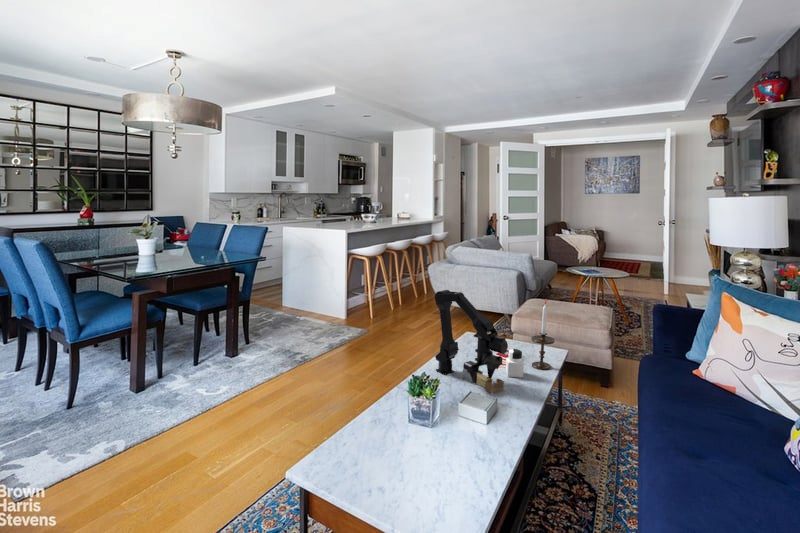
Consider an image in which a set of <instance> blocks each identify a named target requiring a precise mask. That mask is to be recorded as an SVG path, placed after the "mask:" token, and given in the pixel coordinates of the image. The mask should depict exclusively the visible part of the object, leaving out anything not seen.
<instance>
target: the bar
mask: <svg viewBox="0 0 800 533" xmlns="http://www.w3.org/2000/svg"><path fill="white" fill-rule="evenodd" d="M487 382H490V383H492V384H493V378H489V377H488V375H487V376H486V375H484V373H483V374H481V373H479V372H478V373H477V382H476V385H479V386H480V387H483V388H484V389H486V383H487Z"/></svg>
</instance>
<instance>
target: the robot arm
mask: <svg viewBox="0 0 800 533" xmlns="http://www.w3.org/2000/svg"><path fill="white" fill-rule="evenodd" d="M434 301H435V305H436V307H437V308H438V310H439V318H440V326H441V328H440V329H441V338H442V339H441V342H440V346H439V352H438V353H437V354H435V356H434V357H435V360H436V361H438V368H436V370H435V371H436V372H438V373H440V374H442V375H445V376H446V375H449V374H453V373H455V370H453V360H452V359H455V358H456V355H457V354H458V353H459V350H460V349H459V342H458V341H455V340H454V337H453V327H452V317H451V316H452V315H451V307H452V304H453V302H454V303H456V304H457V306H458V307H459V308H460V309H461V310H462V311H463V312H464V313H465V314H466V316H467V317H468V318H469V320H471V322H472V325H473V328H474V330H475V331H476V333H475V334H473V337H474V338H477V345H476V346H477V348H476V349H475V353H476V357H475V358H474V361H476V362H474V361H472V360H470V361H466V362H464V363H463V369H466V370H468V372H469V373H470V375H471V378H472V380H473V384H475V385H477V383H476V382H477V373H478V372H479V371H478V370H480V367H482V366H486V369H487V377H489V378H491V379H493V376H494V373H495V371H496V370H498V369H499V368H500V366H502V365H503V357H502V356H501V355H495V354H493V352H496V353H497V354H498V353H499V354H502V355H504V354H506V352H507V351H508V347H509V344H508V341H507V340H506V339H507V338H506V337H504V336H499V334H498V332H497V330H496V328H495V326H494V323H493V321H492V320H491V319H490V318H488V316H486V315H483V314H482V313H480V311H479V310H478V309H477V308H476V307H475V306H474V305H473V304H472V303H471V302H470V300H469V299H468V298H467V297H466V296H465V294H464V293H463V292H462V291H450V290H449V289H444V290H443V289H442V290H438V291H436V293H435V294H434Z"/></svg>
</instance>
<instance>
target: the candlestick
mask: <svg viewBox="0 0 800 533" xmlns="http://www.w3.org/2000/svg"><path fill="white" fill-rule="evenodd" d="M547 301H548V299H547V298H545V300H544V306H543V307H542V316H541V317H542V320H541V321H542V322H541V332H539V334H538V335H533V336H531V341H532V342H533V343H535V344H539V345H540V350H539V352H538V353H539V354H540V355H539V356H538V358H540V359H539V361H533V362H532V363H531V367H532V368H534V369H535V370H539V371H540V370H541V371H548V370H551V369H552V365H551V364H549V363H548V362H545V361H544V359H545V356H544V355H545V354H546V351H545V345H553V344H554V343H555V342H556V341H555V338H554V337H552V336H547V335H548V333H547V331H546V329H547V314H548V313H547V312H548V307H547V305H546V304H547Z"/></svg>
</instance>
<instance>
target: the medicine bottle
mask: <svg viewBox="0 0 800 533" xmlns="http://www.w3.org/2000/svg"><path fill="white" fill-rule="evenodd" d="M522 357H523V351H521V350H520V349H519V348H511V349H509V350H508V357H506V360H505V373H506V375H507V377H508V378H524V368H525V366H524V365H525V363H524V361H523V359H522Z"/></svg>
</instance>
